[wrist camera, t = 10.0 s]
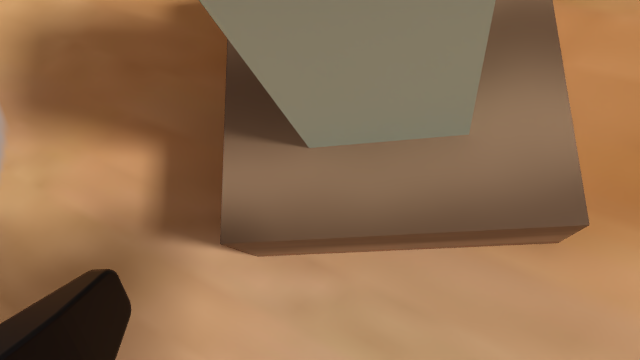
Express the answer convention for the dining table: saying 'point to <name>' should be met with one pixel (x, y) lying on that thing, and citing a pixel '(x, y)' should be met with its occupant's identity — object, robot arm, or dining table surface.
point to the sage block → (363, 63)
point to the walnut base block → (414, 163)
